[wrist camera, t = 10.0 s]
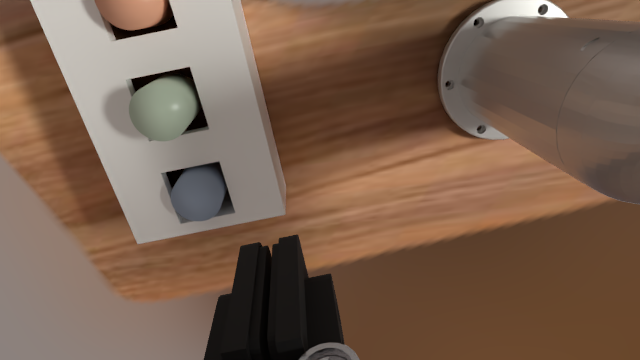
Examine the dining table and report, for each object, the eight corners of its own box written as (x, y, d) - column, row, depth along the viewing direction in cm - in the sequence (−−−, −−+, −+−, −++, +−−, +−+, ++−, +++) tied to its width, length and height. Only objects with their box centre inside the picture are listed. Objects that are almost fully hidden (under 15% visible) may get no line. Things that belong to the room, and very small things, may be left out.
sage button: (193, 68, 32) (177, 79, 27) (208, 117, 34) (196, 135, 29) (143, 78, 32) (119, 91, 27) (161, 126, 34) (141, 146, 29)
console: (223, -68, 31) (210, -82, 26) (285, 185, 40) (285, 214, 35) (59, -34, 32) (11, -41, 26) (158, 211, 40) (137, 244, 35)
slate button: (223, 150, 36) (213, 172, 32) (235, 190, 38) (227, 215, 33) (179, 159, 36) (163, 182, 32) (193, 198, 38) (180, 225, 33)
